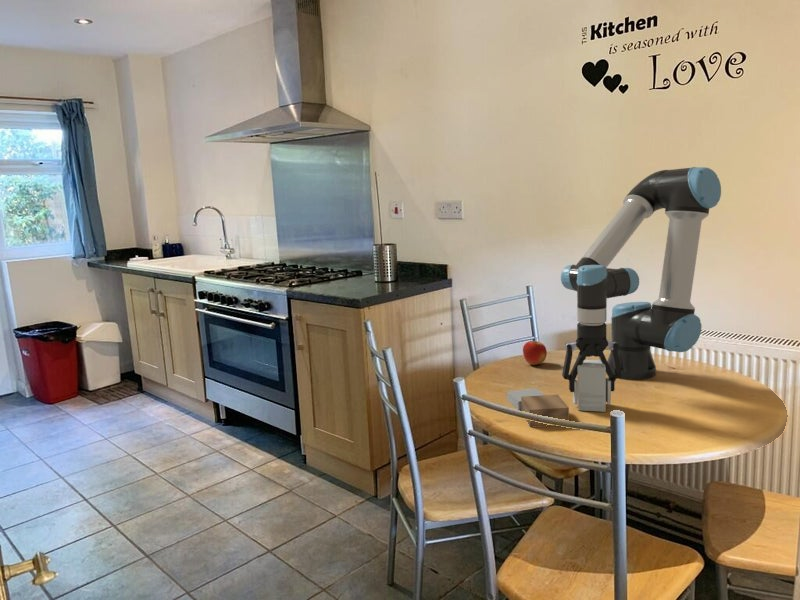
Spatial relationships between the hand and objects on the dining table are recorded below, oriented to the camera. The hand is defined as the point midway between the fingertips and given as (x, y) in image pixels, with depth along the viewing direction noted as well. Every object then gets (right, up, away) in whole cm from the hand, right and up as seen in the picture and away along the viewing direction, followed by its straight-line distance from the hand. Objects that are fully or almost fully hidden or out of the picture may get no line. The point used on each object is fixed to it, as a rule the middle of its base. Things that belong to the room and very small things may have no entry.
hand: (591, 402), depth 158 cm
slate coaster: (-16, -2, +6) cm, 18 cm away
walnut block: (-15, -4, -6) cm, 16 cm away
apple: (-6, +5, +42) cm, 43 cm away
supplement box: (0, -1, 0) cm, 1 cm away
